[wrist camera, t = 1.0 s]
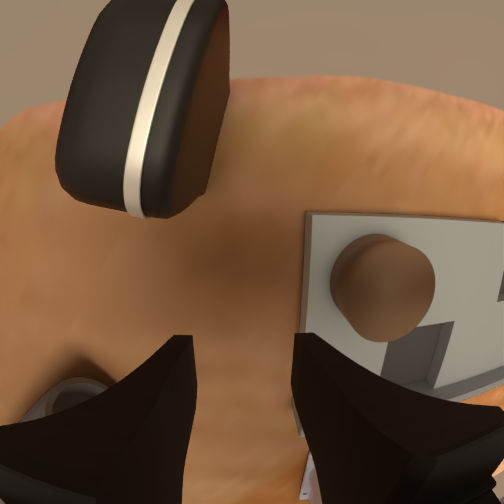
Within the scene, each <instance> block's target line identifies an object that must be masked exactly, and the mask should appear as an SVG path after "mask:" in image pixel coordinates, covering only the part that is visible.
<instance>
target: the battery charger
mask: <svg viewBox="0 0 504 504" xmlns="http://www.w3.org/2000/svg"><path fill="white" fill-rule="evenodd" d="M229 36H230V35H229V11H228V5H227V3H226V1H225V0H111V1H110V2H109V3H108V4H107V5H106V6H105V8H104V9H103V10H102V11H101V12H100V14H99V16H98V17H97V19H96V21H95V23H94V25H93V27H92V30H91V32H90V34H89V36H88V39H87V41H86V44H85V46H84V49H83V52H82V54H81V57H80V59H79V62H78V65H77V68H76V71H75V74H74V77H73V80H72V83H71V86H70V90H69V93H68V97H67V101H66V105H65V109H64V113H63V117H62V121H61V126H60V130H59V135H58V140H57V146H56V154H55V170H56V173H57V176H58V179H59V182H60V184H61V187H62V188H63V189H64V190H65V191H66V192H67V193H68V194H70V195H71V196H72V197H73V198H74V199H75V200H78V201H81V202H84V203H86V204H90V205H95V206H100V207H105V208H110V209H115V210H120V211H125V212H128V213H129V214H130V215H131V216H132V217H137V218H142V219H147V220H148V219H153V218H163V219H167V218H170V217H173V216H175V215H177V214H178V213H180V212H182V211H183V210H184V209H186V208H187V207H188V206H189V205H190V204H191V203H192V202H193V201H194V200H195V199H196V198H197V197H199V196H201V195H203V194H204V193H205V191H206V187H207V183H208V178H209V174H210V170H211V165H212V161H213V157H214V153H215V149H216V145H217V141H218V136H219V132H220V128H221V124H222V120H223V117H224V113H225V109H226V105H227V101H228V97H229V94H230V83H229V63H230V62H229V61H230V60H229V59H230V57H229V56H230V51H229V50H230V38H229Z"/></svg>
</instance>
